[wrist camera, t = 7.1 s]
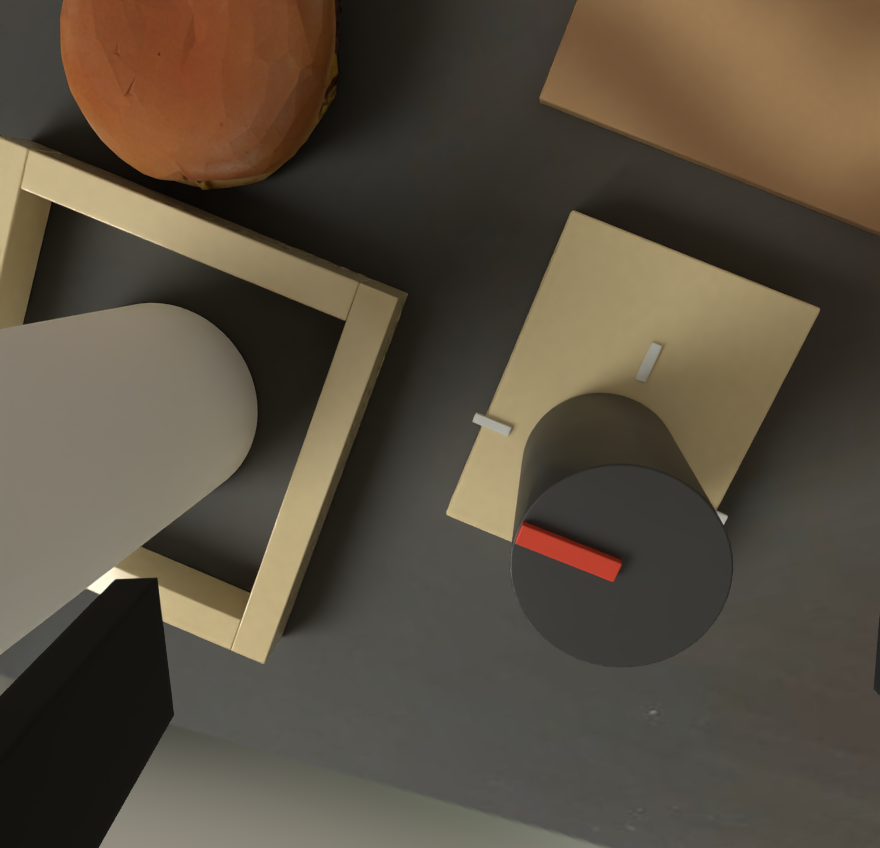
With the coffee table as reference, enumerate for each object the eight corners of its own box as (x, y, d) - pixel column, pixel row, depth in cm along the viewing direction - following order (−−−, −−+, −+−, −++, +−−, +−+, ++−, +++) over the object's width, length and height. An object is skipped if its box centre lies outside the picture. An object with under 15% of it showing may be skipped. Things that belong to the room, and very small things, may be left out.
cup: (73, 285, 32) (-360, 338, 17) (268, 323, 32) (-1, 412, 16) (64, 476, 34) (-330, 676, 19) (247, 515, 34) (-9, 756, 18)
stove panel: (560, 206, 29) (561, 205, 27) (814, 307, 29) (834, 313, 27) (434, 513, 33) (426, 533, 31) (659, 607, 32) (667, 633, 30)
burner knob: (704, 426, 28) (775, 518, 19) (640, 562, 30) (678, 706, 21) (556, 369, 29) (558, 434, 20) (499, 507, 30) (477, 625, 21)
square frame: (29, 139, 31) (-10, 133, 29) (408, 293, 31) (398, 298, 29) (-51, 497, 36) (-89, 514, 33) (281, 638, 35) (263, 664, 33)
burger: (146, 217, 31) (79, 214, 27) (70, -38, 29) (-16, -86, 25) (388, 153, 30) (359, 139, 25) (323, -122, 28) (279, -190, 23)
